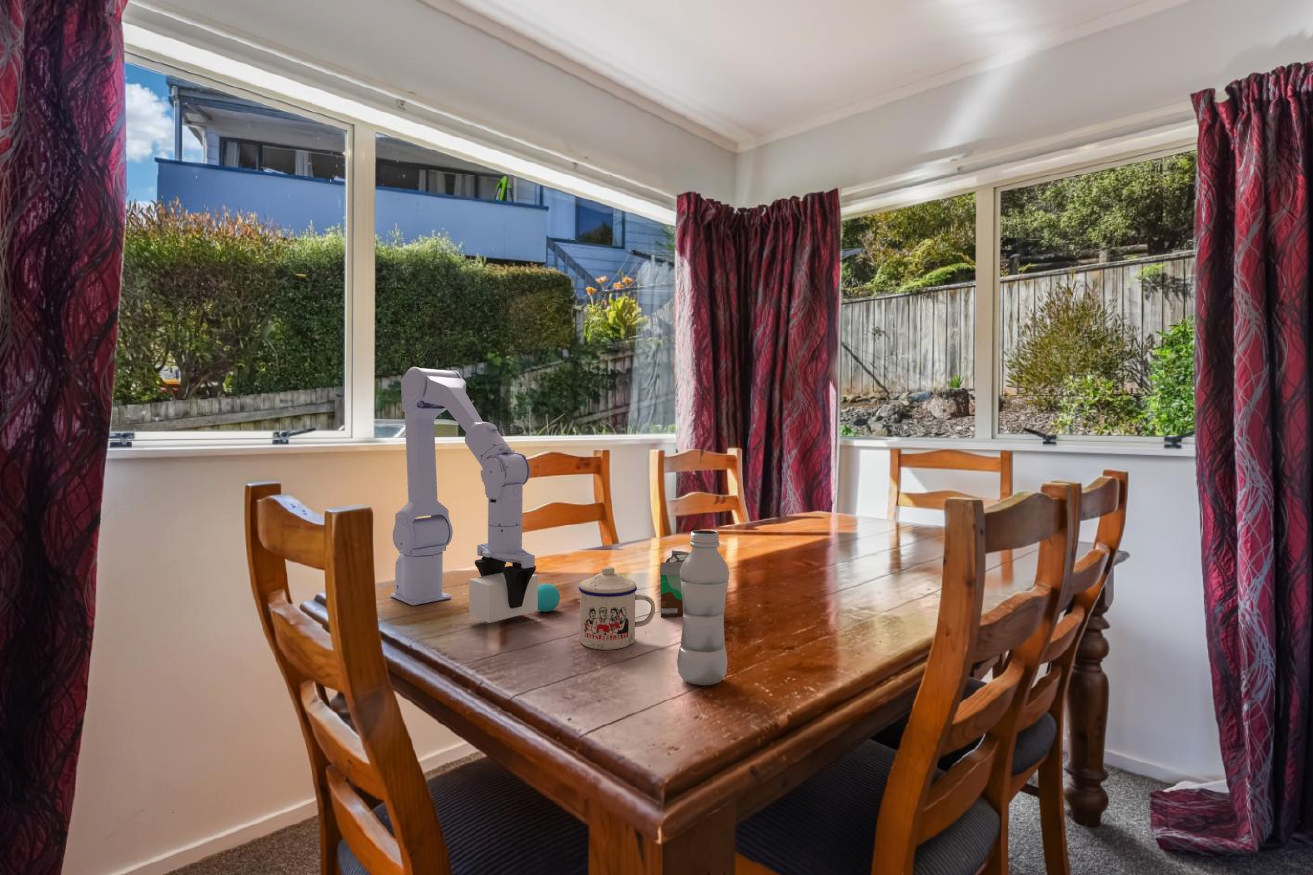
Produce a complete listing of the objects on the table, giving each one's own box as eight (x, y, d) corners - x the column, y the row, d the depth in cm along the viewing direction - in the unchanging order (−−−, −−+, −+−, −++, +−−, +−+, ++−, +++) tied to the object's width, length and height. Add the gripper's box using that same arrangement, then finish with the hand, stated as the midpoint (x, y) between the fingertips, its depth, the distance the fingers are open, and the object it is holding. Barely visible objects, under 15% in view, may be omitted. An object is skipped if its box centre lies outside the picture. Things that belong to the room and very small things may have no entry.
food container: (693, 622, 115) (694, 564, 115) (659, 619, 116) (659, 562, 116) (703, 603, 127) (704, 551, 127) (671, 601, 128) (672, 549, 128)
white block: (469, 614, 113) (469, 579, 113) (517, 603, 120) (516, 569, 119) (489, 622, 108) (489, 585, 108) (537, 610, 115) (537, 575, 115)
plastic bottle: (674, 673, 91) (676, 528, 91) (722, 672, 92) (725, 528, 92) (679, 692, 85) (682, 536, 85) (732, 691, 86) (734, 536, 85)
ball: (544, 576, 123) (553, 598, 124) (522, 590, 120) (532, 613, 121) (560, 581, 119) (569, 604, 121) (538, 596, 116) (547, 620, 118)
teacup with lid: (576, 651, 100) (577, 574, 99) (580, 632, 109) (580, 561, 108) (656, 651, 100) (657, 574, 100) (653, 632, 109) (654, 561, 109)
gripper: (462, 521, 116) (461, 599, 116) (509, 531, 106) (508, 616, 106) (497, 517, 121) (496, 592, 121) (545, 527, 111) (544, 608, 111)
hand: (504, 603), depth 114 cm, fingers closed on white block, 6 cm apart
